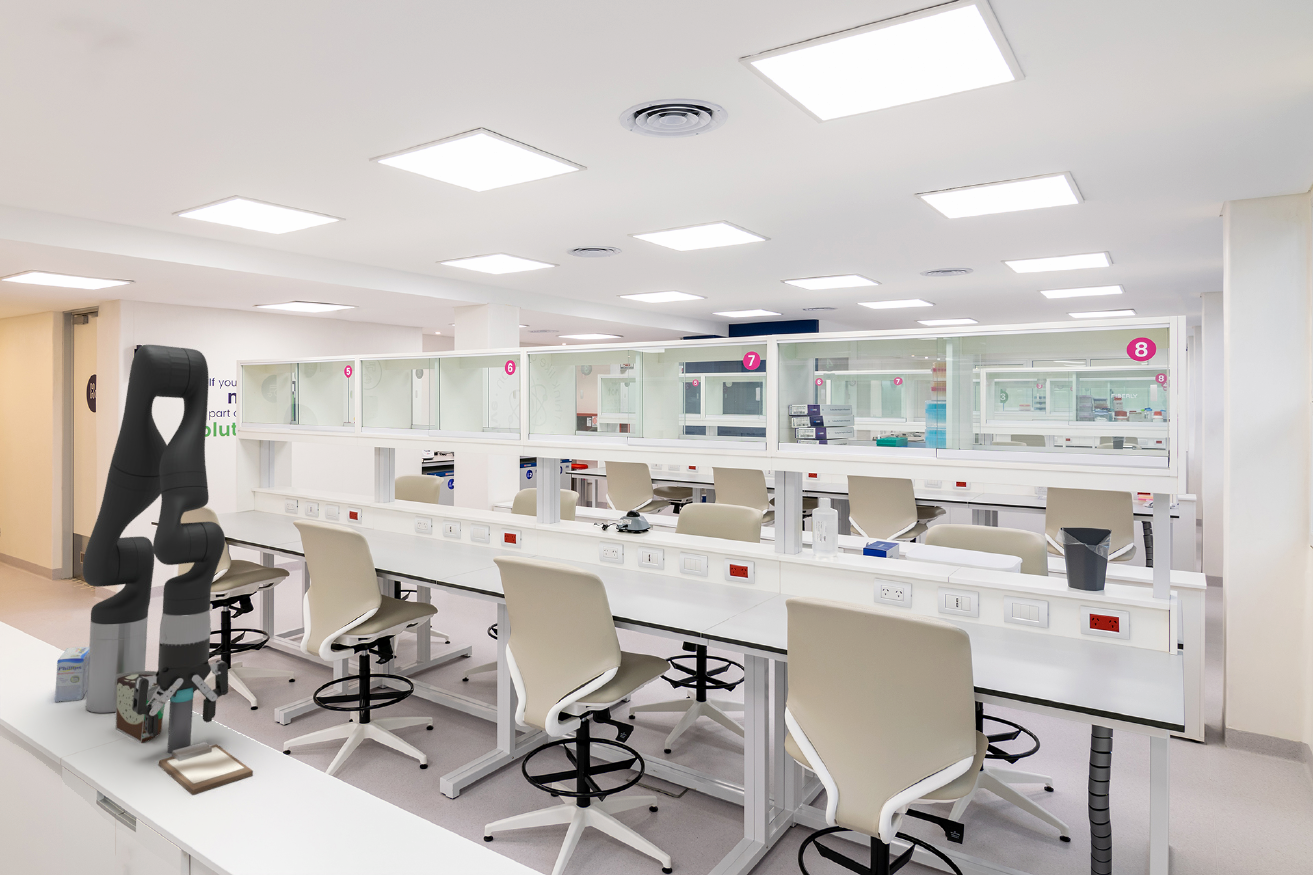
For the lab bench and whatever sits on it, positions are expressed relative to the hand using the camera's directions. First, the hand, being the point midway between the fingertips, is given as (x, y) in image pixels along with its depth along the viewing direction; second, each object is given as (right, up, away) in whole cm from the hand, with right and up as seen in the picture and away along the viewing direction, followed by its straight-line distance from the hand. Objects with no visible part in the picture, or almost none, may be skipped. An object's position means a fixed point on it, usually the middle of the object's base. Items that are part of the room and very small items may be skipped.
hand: (180, 727), depth 130 cm
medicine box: (-35, -2, +20) cm, 41 cm away
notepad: (+8, -5, -7) cm, 11 cm away
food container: (-10, -3, +7) cm, 13 cm away
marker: (0, -4, 0) cm, 4 cm away
